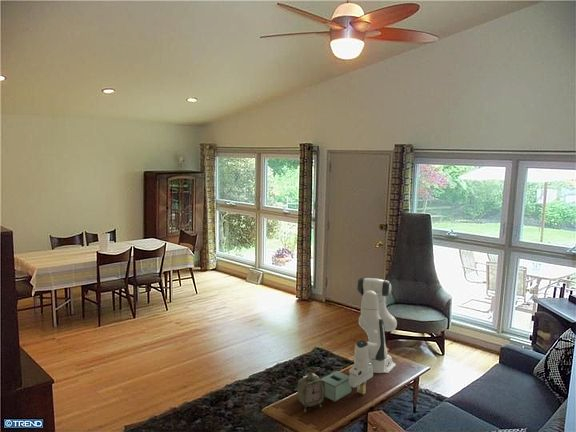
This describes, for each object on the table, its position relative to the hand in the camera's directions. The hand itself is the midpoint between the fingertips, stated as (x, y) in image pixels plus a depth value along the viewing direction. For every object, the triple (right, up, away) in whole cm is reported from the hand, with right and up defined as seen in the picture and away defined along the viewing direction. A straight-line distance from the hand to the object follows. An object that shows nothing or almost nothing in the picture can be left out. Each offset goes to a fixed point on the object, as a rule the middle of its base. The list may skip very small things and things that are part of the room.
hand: (361, 388), depth 280 cm
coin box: (-16, -4, +2) cm, 16 cm away
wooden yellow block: (0, -2, 0) cm, 2 cm away
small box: (-31, -4, -2) cm, 32 cm away
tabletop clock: (-32, -6, -14) cm, 36 cm away
